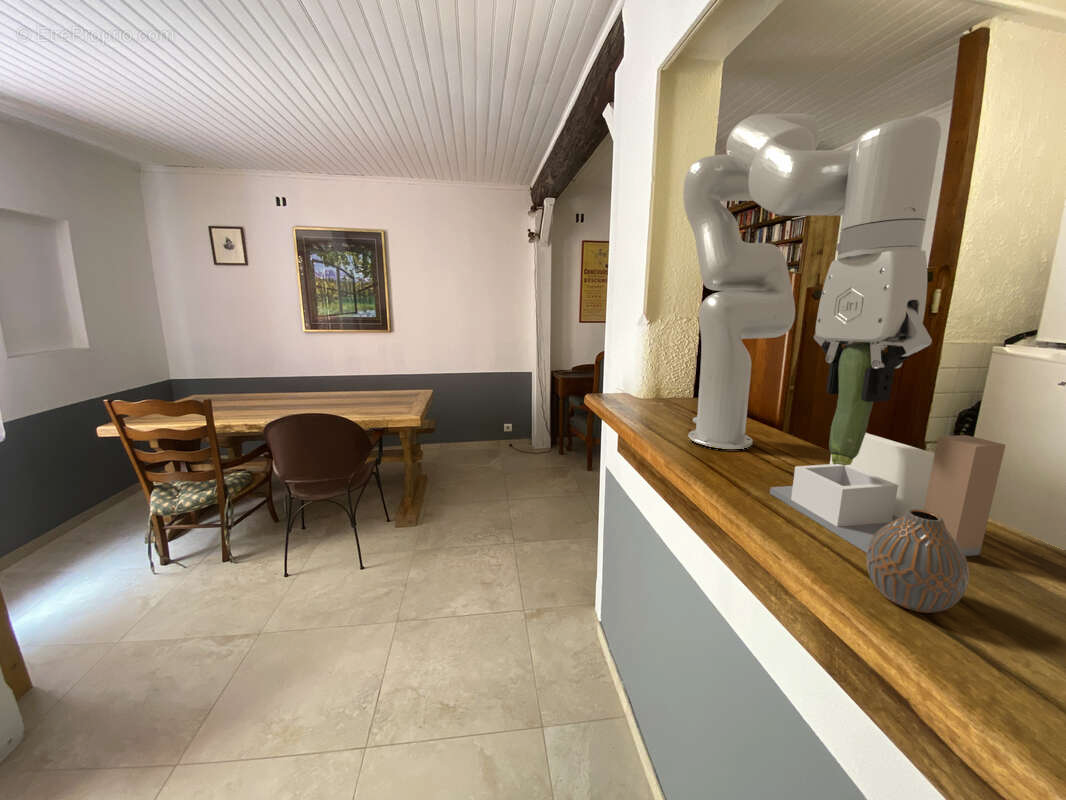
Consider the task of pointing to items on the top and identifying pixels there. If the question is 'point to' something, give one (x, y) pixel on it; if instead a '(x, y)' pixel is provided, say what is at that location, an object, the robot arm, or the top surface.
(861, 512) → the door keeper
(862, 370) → the vegetable
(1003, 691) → the top surface
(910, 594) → the vase
